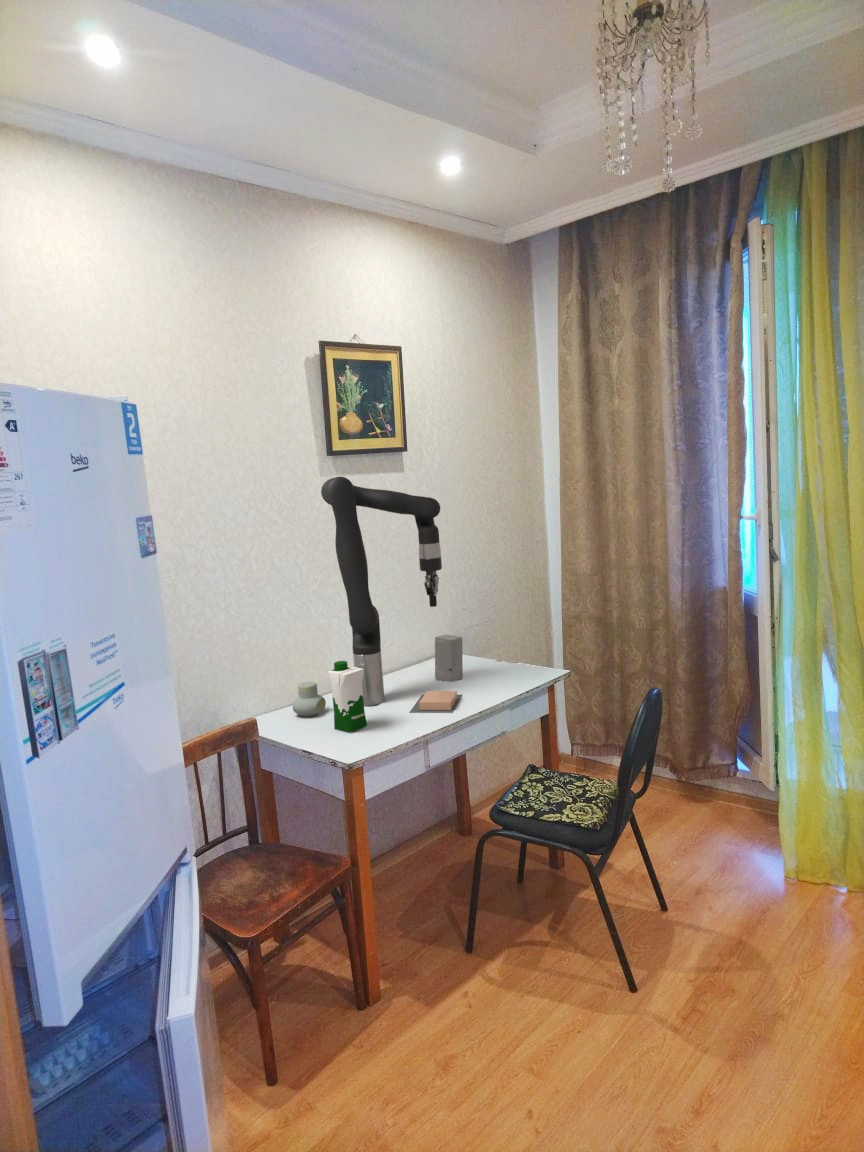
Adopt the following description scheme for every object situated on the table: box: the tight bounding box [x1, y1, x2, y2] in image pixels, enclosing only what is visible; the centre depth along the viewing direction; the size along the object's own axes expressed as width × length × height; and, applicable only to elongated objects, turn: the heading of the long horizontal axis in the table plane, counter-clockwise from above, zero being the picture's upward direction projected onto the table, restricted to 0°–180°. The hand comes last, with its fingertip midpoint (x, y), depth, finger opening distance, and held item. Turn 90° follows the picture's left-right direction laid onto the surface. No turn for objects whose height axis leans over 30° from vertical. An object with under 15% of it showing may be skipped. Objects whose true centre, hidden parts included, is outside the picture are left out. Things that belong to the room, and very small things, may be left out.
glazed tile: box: [419, 690, 458, 710], centre depth 244 cm, size 10×3×12 cm
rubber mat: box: [408, 693, 463, 714], centre depth 246 cm, size 14×19×1 cm
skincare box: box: [434, 634, 464, 683], centre depth 274 cm, size 8×7×16 cm
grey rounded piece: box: [292, 681, 327, 717], centre depth 245 cm, size 11×8×10 cm
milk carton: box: [327, 660, 368, 734], centre depth 228 cm, size 9×9×20 cm
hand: (433, 606), depth 261 cm, fingers closed
